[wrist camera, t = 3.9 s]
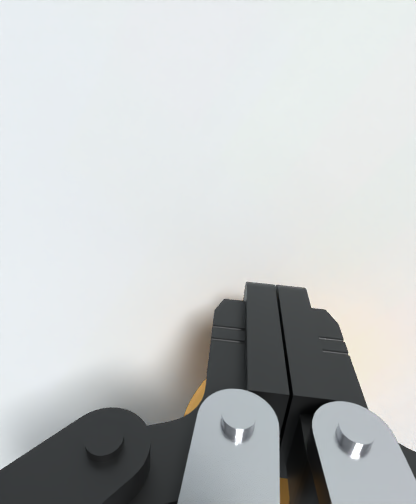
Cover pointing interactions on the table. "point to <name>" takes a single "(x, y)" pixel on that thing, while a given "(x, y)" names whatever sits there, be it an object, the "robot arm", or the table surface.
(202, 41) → the table surface
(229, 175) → the table surface
